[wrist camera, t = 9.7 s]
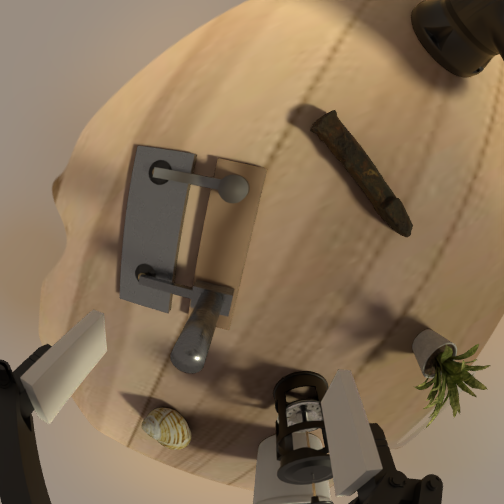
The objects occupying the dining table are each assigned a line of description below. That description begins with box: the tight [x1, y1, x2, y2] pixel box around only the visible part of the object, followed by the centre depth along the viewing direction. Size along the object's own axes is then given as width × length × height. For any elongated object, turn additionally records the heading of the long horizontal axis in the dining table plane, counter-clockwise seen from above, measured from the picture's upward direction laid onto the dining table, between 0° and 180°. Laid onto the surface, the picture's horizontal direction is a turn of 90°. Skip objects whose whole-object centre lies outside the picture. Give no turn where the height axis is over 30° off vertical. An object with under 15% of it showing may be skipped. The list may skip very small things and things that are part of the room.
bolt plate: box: [120, 146, 197, 313], centre depth 35 cm, size 8×22×1 cm, turn 167°
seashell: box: [142, 408, 191, 450], centre depth 42 cm, size 10×10×10 cm
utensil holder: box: [253, 433, 332, 504], centre depth 38 cm, size 15×15×18 cm
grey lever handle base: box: [152, 158, 267, 330], centre depth 33 cm, size 14×22×6 cm, turn 167°
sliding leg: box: [138, 273, 235, 373], centre depth 28 cm, size 13×3×14 cm, turn 77°
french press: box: [273, 371, 333, 504], centre depth 31 cm, size 12×9×23 cm
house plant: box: [412, 329, 490, 427], centre depth 31 cm, size 14×14×16 cm
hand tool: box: [310, 110, 413, 237], centre depth 30 cm, size 19×4×5 cm, turn 39°
